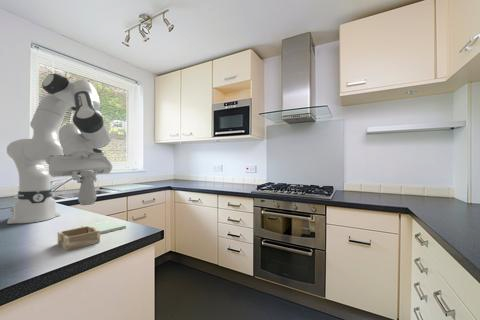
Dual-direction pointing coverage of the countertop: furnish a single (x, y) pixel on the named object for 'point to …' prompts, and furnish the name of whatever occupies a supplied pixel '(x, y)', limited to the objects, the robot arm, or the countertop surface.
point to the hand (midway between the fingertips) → (87, 181)
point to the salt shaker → (87, 188)
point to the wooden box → (78, 237)
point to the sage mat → (107, 226)
